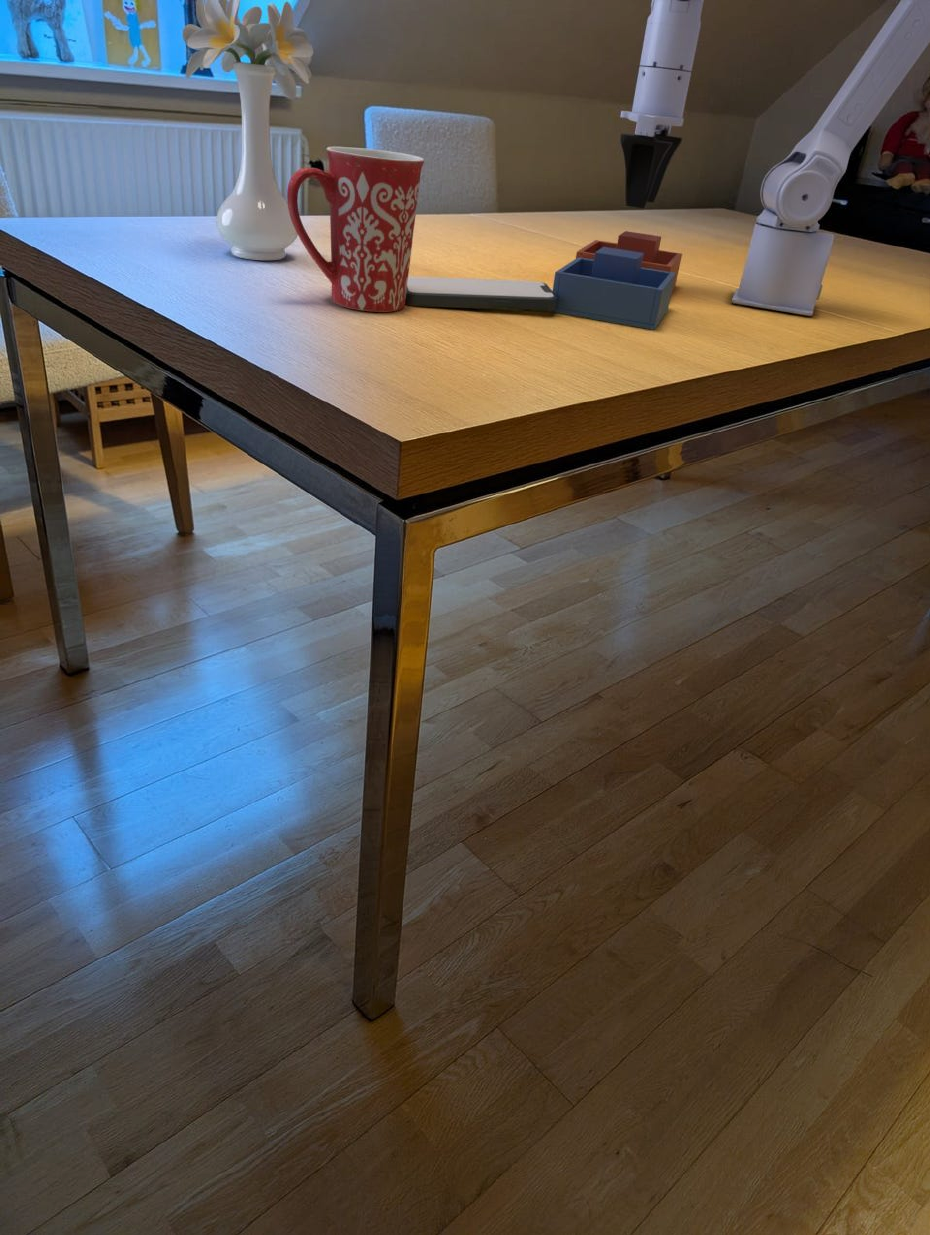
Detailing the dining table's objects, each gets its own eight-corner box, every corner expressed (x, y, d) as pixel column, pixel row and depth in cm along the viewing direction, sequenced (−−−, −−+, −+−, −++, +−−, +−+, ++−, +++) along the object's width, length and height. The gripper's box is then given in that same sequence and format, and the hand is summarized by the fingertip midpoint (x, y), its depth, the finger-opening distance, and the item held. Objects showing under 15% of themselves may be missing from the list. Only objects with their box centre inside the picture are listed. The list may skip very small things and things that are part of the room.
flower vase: (317, 245, 112) (319, 8, 99) (306, 275, 96) (307, -2, 83) (212, 236, 110) (200, -7, 97) (183, 264, 95) (165, -20, 82)
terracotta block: (652, 283, 110) (661, 236, 107) (646, 289, 106) (656, 241, 103) (616, 277, 111) (625, 230, 108) (610, 283, 107) (618, 235, 104)
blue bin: (668, 310, 100) (675, 273, 98) (654, 330, 91) (662, 289, 89) (572, 293, 102) (578, 257, 100) (549, 311, 93) (555, 271, 91)
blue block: (633, 305, 98) (644, 253, 95) (627, 313, 94) (637, 258, 91) (594, 298, 99) (603, 246, 96) (586, 306, 95) (595, 252, 92)
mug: (400, 293, 93) (408, 150, 86) (425, 315, 86) (436, 161, 79) (280, 290, 89) (278, 140, 82) (296, 313, 82) (296, 150, 75)
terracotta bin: (675, 286, 112) (682, 253, 110) (663, 302, 103) (671, 266, 101) (589, 272, 115) (595, 239, 113) (571, 286, 106) (576, 251, 104)
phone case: (404, 309, 89) (559, 314, 91) (404, 293, 88) (560, 298, 90) (400, 290, 96) (543, 295, 98) (400, 275, 96) (545, 280, 98)
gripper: (639, 68, 104) (617, 194, 111) (618, 62, 92) (595, 204, 99) (699, 74, 102) (673, 202, 109) (685, 69, 90) (657, 213, 98)
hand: (640, 204), depth 104 cm, fingers open, 7 cm apart
